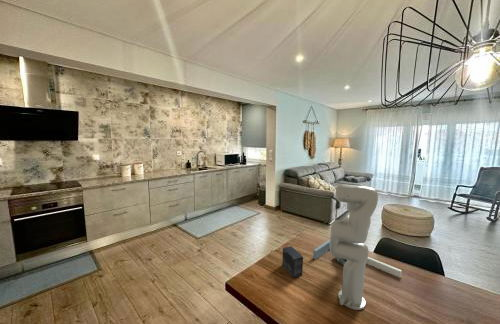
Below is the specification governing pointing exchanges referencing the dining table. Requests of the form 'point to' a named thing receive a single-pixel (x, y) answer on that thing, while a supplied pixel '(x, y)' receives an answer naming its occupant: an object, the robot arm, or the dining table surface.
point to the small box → (292, 261)
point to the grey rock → (340, 260)
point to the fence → (370, 261)
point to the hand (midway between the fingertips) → (348, 257)
